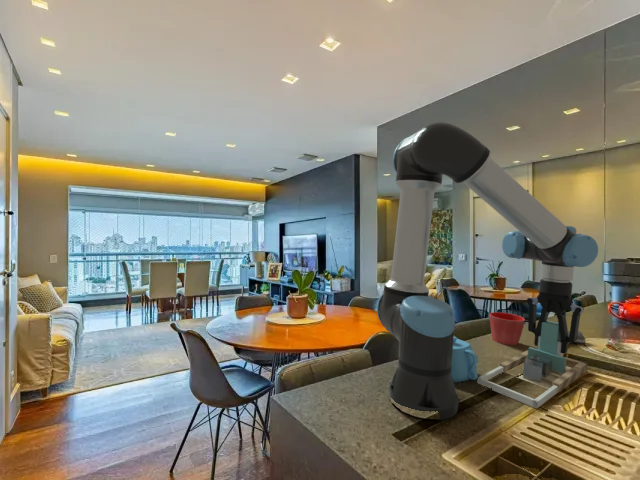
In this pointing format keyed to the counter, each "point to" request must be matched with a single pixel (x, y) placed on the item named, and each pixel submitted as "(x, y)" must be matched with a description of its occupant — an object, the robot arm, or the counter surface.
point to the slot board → (556, 377)
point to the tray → (513, 394)
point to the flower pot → (506, 327)
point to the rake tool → (549, 346)
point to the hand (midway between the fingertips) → (549, 360)
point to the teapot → (463, 361)
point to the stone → (578, 338)
